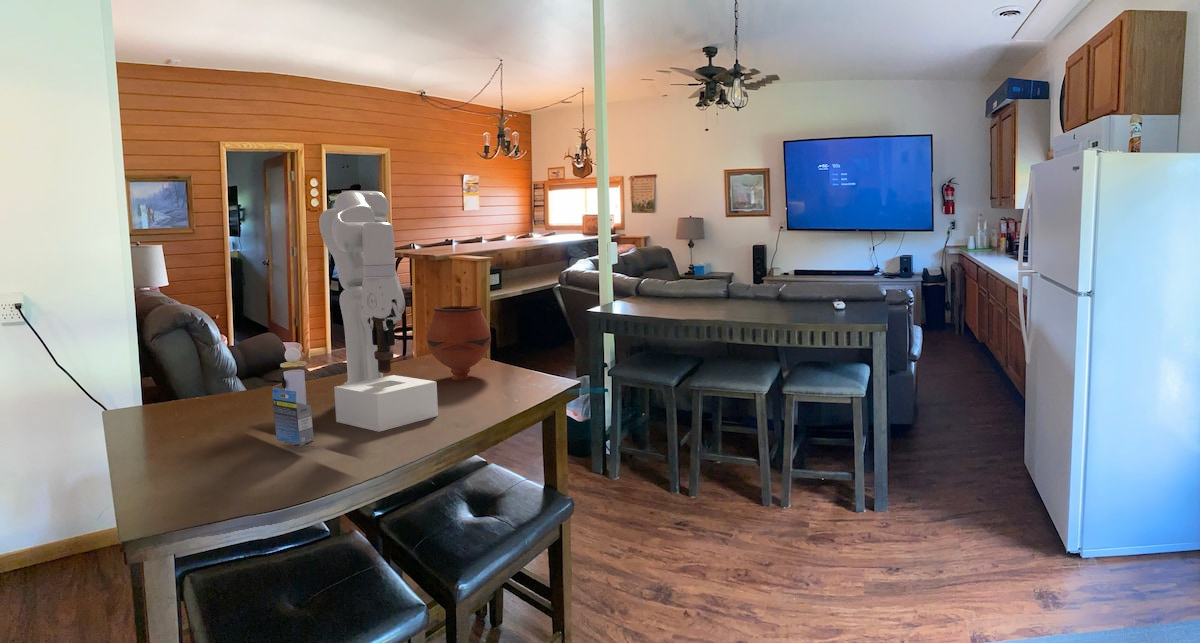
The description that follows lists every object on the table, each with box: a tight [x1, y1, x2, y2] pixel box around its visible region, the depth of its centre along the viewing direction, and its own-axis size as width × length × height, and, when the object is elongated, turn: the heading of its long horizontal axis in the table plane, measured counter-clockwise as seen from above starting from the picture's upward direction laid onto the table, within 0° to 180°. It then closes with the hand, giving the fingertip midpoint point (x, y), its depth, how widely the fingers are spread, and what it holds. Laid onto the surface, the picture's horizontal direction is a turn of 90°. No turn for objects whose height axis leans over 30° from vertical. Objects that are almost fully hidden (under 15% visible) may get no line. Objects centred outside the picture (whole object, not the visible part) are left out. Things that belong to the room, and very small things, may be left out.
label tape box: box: [272, 387, 315, 445], centre depth 157 cm, size 9×4×12 cm, turn 59°
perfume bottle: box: [279, 346, 307, 404], centre depth 167 cm, size 6×6×20 cm
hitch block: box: [333, 374, 439, 433], centre depth 176 cm, size 17×18×9 cm
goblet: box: [426, 305, 492, 381], centre depth 213 cm, size 19×19×25 cm
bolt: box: [371, 314, 395, 374], centre depth 174 cm, size 6×5×15 cm
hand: (383, 344), depth 174 cm, fingers closed on bolt, 3 cm apart
